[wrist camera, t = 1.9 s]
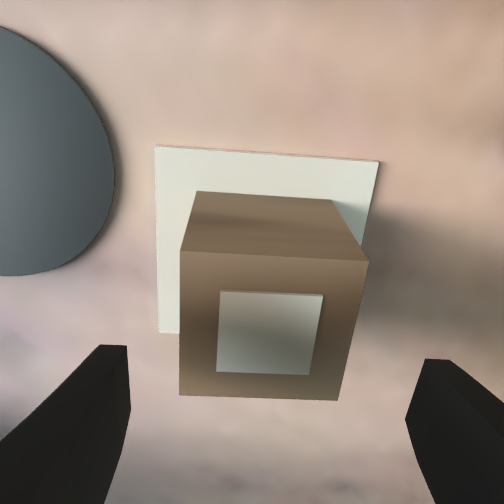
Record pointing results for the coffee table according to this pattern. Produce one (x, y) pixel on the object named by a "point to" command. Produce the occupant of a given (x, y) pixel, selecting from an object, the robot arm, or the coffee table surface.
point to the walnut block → (267, 297)
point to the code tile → (244, 182)
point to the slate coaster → (47, 162)
